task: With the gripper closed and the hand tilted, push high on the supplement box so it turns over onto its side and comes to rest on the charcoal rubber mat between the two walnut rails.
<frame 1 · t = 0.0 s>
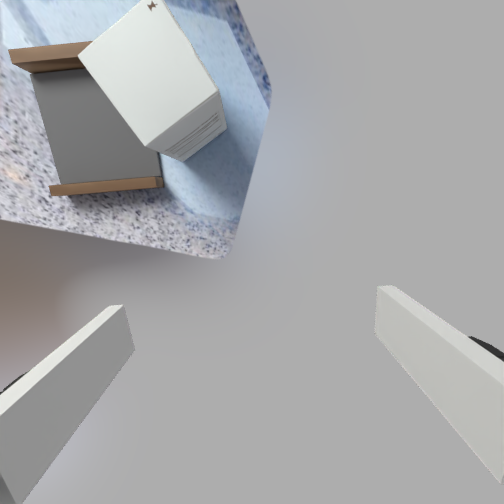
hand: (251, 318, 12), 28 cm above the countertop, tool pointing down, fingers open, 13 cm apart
supplement box: (187, 120, 35), on the countertop, touching mat
rails: (101, 128, 35), on the countertop
mat: (101, 128, 35), on the countertop
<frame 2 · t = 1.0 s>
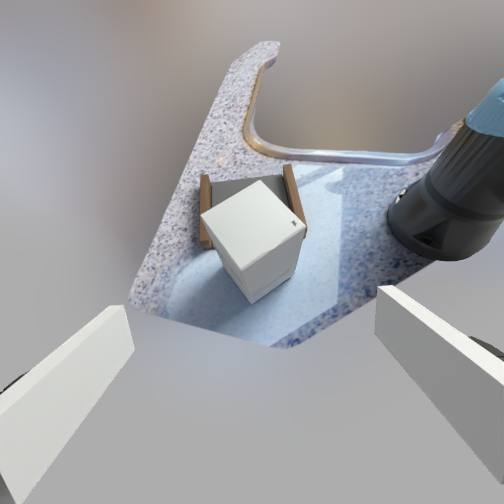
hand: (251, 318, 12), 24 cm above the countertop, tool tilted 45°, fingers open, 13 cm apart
supplement box: (257, 269, 40), on the countertop, touching mat
rails: (250, 209, 46), on the countertop
mat: (250, 209, 46), on the countertop
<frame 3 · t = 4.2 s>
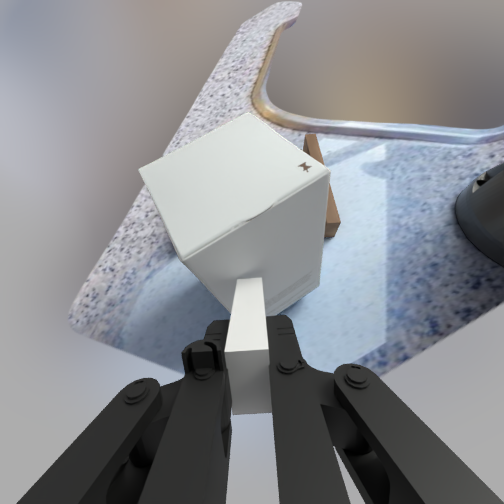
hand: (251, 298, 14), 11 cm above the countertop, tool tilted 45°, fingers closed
supplement box: (262, 278, 26), point 1 cm above the countertop, touching gripper, mat
rails: (256, 194, 33), on the countertop
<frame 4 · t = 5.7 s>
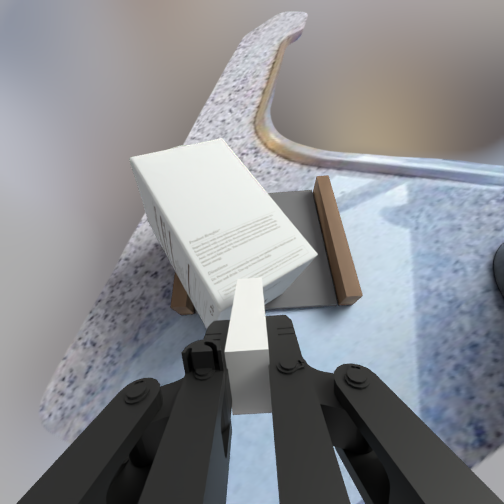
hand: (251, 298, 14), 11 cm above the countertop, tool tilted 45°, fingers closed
supplement box: (261, 303, 20), point 6 cm above the countertop, touching gripper
rails: (261, 245, 29), on the countertop
mat: (261, 245, 29), on the countertop
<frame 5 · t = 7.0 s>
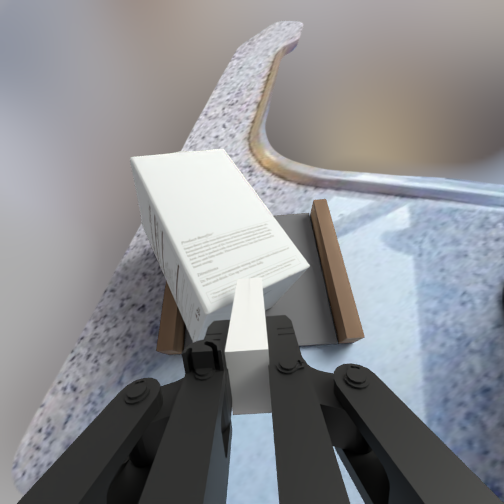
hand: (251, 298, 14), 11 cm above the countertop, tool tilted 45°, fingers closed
supplement box: (250, 313, 19), point 6 cm above the countertop, touching gripper, mat, rails
rails: (255, 275, 27), on the countertop
mat: (255, 275, 27), on the countertop
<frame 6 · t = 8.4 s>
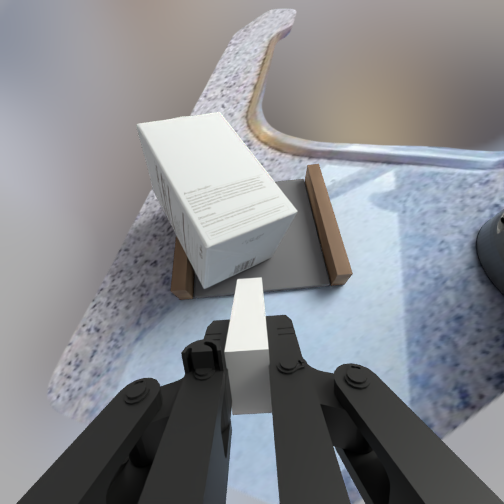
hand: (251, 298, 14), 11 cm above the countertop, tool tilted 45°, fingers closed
supplement box: (248, 257, 22), point 6 cm above the countertop, touching mat, rails
rails: (255, 233, 30), on the countertop
mat: (255, 233, 30), on the countertop
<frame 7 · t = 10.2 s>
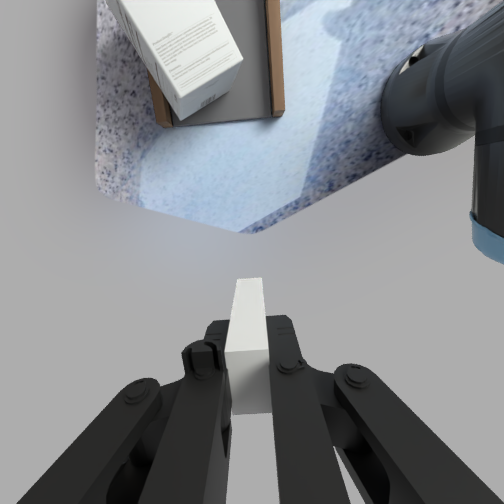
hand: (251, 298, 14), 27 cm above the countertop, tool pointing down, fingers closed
supplement box: (209, 96, 30), point 6 cm above the countertop, touching mat, rails
rails: (216, 61, 34), on the countertop
mat: (216, 61, 34), on the countertop
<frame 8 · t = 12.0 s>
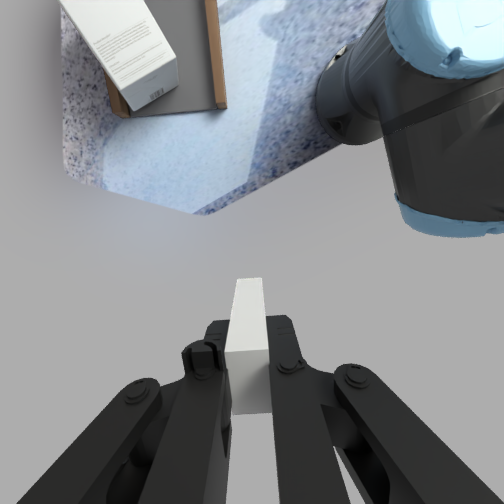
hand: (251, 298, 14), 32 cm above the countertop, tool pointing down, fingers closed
supplement box: (154, 89, 35), point 6 cm above the countertop, touching mat, rails
rails: (166, 59, 39), on the countertop
mat: (166, 59, 39), on the countertop
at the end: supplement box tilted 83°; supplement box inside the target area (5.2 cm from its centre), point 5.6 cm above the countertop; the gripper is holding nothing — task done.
